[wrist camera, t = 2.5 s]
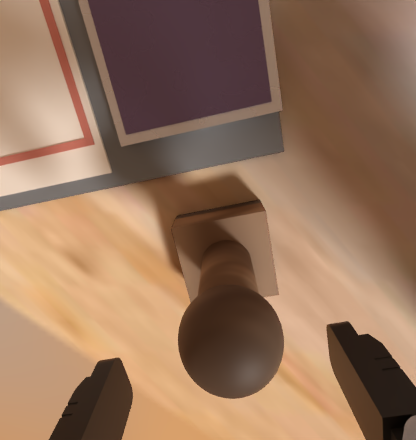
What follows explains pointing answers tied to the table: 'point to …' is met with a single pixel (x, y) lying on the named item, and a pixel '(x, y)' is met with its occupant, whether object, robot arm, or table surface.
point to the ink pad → (183, 63)
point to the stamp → (228, 299)
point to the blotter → (87, 116)
